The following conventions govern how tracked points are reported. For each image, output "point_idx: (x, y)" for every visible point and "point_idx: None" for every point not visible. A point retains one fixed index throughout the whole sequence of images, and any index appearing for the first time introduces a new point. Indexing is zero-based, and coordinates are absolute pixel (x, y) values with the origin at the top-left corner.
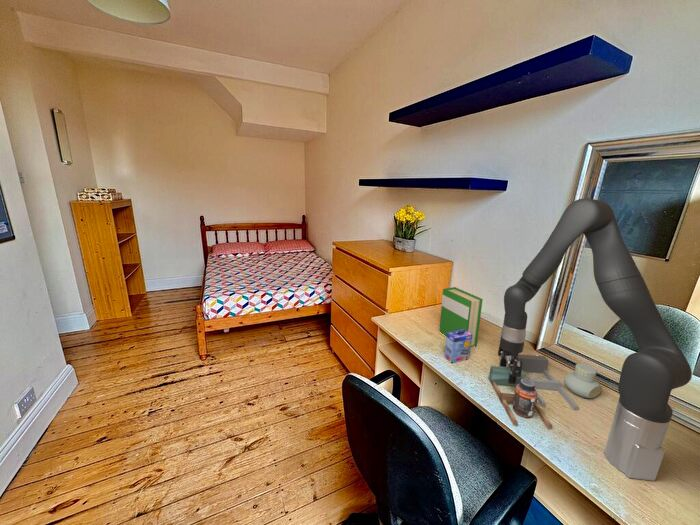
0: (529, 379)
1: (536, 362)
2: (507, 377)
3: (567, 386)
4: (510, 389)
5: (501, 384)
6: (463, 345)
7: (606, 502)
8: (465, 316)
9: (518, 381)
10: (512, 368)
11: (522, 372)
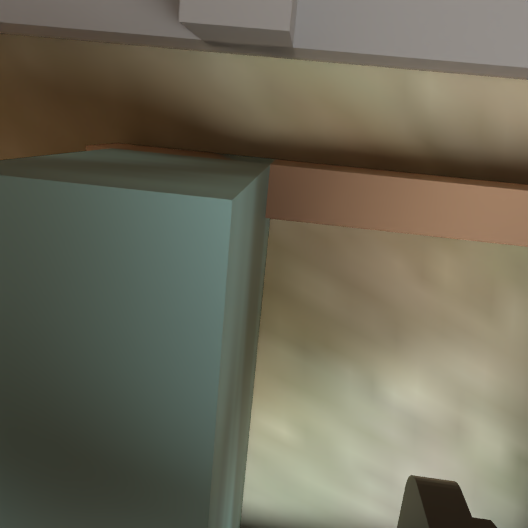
0: (233, 5)
1: None
2: (229, 501)
3: None
4: (332, 373)
5: (245, 462)
6: None
7: None
8: None
9: (258, 263)
10: (18, 466)
11: (211, 278)
